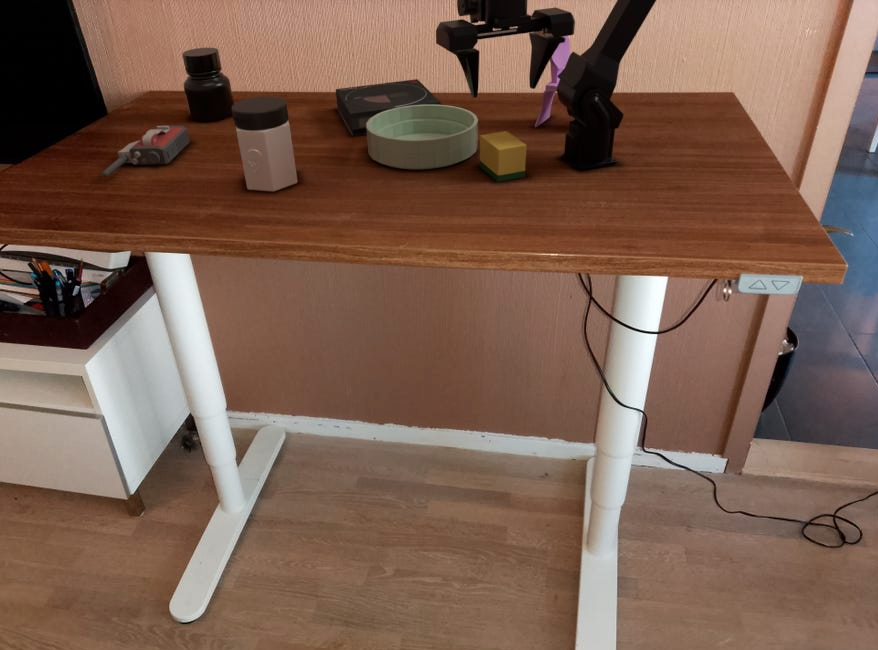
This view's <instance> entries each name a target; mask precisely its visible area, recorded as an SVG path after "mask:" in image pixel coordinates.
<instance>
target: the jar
mask: <svg viewBox="0 0 878 650" xmlns="http://www.w3.org/2000/svg"><path fill="white" fill-rule="evenodd" d="M232 113H233V114H232V121H233V123H234V124H233V125H234V126H235V130H236V137H237V142H238V147H239V148H238V149H239V152H240V159H241V163H242V167H243V168H242V169H243V174H244V180H245V184H246V185H245V186H246V189H247V190H249V191H261V192H272V193H273V192H276V191H279V190H282V189H285V188H288V187H290V186H293V185H296V184H297V183H298V176H297V175H298V174H297V167H296V160H295V153H294V146H293V140H292V133H291V127H290V122H289V112H288V104H287V101H286V100H285V99H284V98H282V97H278V96H256V97H250V98H246V99H243V100H240V101H237V102H236V103H234V105H233V106H232Z"/></svg>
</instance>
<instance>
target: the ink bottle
mask: <svg viewBox="0 0 878 650" xmlns="http://www.w3.org/2000/svg"><path fill="white" fill-rule="evenodd" d="M181 55H182V59H183V64H184V69H185V73H186V75H188V76H187V77H186V79H185V80H184V82H183V91H184V96H185V99H186V104H187V109H188V113H189V117H190V118H191V119H193V120H195V121H200V122H215V121H219V120H223V119H226V118H228V117H231V116H233V113H232V106H233V105H234V104H235V102H234V96H233V90H232V85H231V80H230V78H229V77H228V76H227V75H226V74H224V73H223V72H221V71H222V69H223V68H222V64H221V58H220V53H219V49H218V48H215V47H197V48H191V49H188V50H185V51H183V52H182V53H181Z"/></svg>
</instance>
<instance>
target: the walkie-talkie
mask: <svg viewBox="0 0 878 650" xmlns="http://www.w3.org/2000/svg"><path fill="white" fill-rule="evenodd" d="M190 142H191V141H190V136H189V132H188V129H187V127H185V126H184V125H156V128H153V129H149V130H148V131H146V132H145V133H144V134H143V135H142V136H141V138H140V139H139V140H136V141H134V142H130V143H128V144H127V145H125V147H123V148H122V149H120V150H119V151H117V155H118V158H117V159H116V160H115V161H114V162H113V163H111V164H110V165H109V166H108V167H106V169H104V170H103V171H102V172H101V175H102V177H104V178H108V177H109V176H110V175H111V174H113V173H114V172H115V171H116V170H118V168H121V166H122V165H124V164H132V165H135V166H165V165H168V164H169V163H170V162H171V161H172V160H173V159H174V158H175V157H176V156H178V155H179V153H180V152H182V151H183V150H184V148H186V147H187V146H188V145H189V144H190Z"/></svg>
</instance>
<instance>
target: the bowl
mask: <svg viewBox="0 0 878 650" xmlns="http://www.w3.org/2000/svg"><path fill="white" fill-rule="evenodd" d="M366 128H367V134H366V141H367V153H368V156H369V157H370V158H371V159H372V160H373V161H375V162H377V163H379V164H381V165H384V166H388V167H392V168H396V169H403V170H433V169H440V168H444V167H449V166H452V165H455V164H458V163H460V162H463V161H465V160H467V159H469V158H471V157H472V156H473V155H474V154H475V153H476V152H477V150H478V146H479V119H478V117H477V115H476V114H475V113H474V112H472V111H471V110H469V109H465V108H463V107H459V106H453V105H447V104H446V105H445V104H441V105H427V104H425V105H411V106H404V107H398V108H394V109H390V110H386V111H383V112H381V113H378V114H376V115H375V116H373V117H371V118H370V119H369V120H368V122H367V123H366Z"/></svg>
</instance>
